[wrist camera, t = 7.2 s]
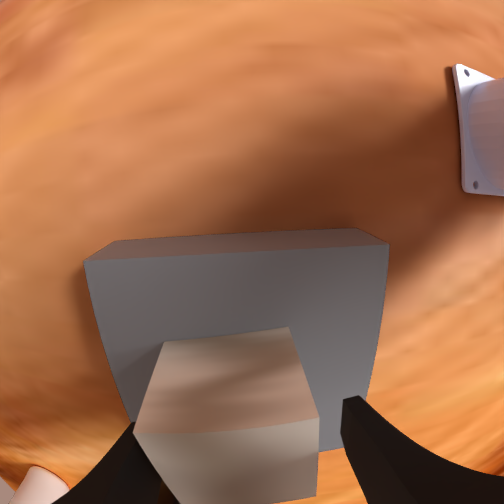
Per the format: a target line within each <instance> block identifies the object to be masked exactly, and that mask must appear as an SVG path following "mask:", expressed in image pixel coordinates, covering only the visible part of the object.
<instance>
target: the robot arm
mask: <svg viewBox="0 0 504 504" xmlns="http://www.w3.org/2000/svg"><path fill="white" fill-rule="evenodd" d="M452 71H453V76H454V83H455V89H456V96H457V104H458V113H459V124H460V137H461V160H462V188H463V190H464V191H465V192H467V193H475V194H486V195H497V196H504V78H499V79H494V78H491V77H489V76H487V75H485V74H483V73H480V72H478V71H476V70H473V69H471V68H469V67H466V66H464V65H461V64H455V65H453V67H452ZM464 72H465V73H464ZM465 74H466V75H465ZM473 183H474V187H473ZM135 424H136V422H132V423H131V424H130V425H129V426H128V428H127V429H126V430H125V431H124V433H123V434H122V435H121V436H120V438H119V439H118V440H117V441H116V443H115V444H114V445H113V446H112V448H111V449H110V450H109V451H108V452H107V454H106V455H105V456H104V457H103V458H102V460H101V461H100V462H99V463H98V464H97V465H96V466H95V467H94V468H93V469H92V470H91V471H90V472H89V474H88V475H87V476H86V477H85V478H83V479H82V480H81V481H80V482H79V483H78V484H77V485H76V486H75V487H73V488H72V489H71V490H70V491H68V492H67V493H66V494H64V495H63V496H61V497H60V498H59V499H57V500H56V501H54V502H53V503H51V504H157V502H158V497H159V492H160V487H161V481H162V478H161V476H160V475H159V473H158V472H157V471H156V469H155V468H154V466H153V465H152V463H151V461H150V460H149V458H148V457H147V455H146V454H145V452H144V450H143V449H142V447H141V446H140V444H139V442H138V441H137V439H136V437H135V436H134V434H133V430H134V427H135ZM340 435H341V438H342V442H343V445H344V448H345V452H346V455H347V457H348V460H349V462H350V464H351V466H352V469H353V471H354V473H355V475H356V477H357V480H358V482H359V484H360V486H361V489H362V491H363V493H364V495H365V497H366V500H367V503H368V504H504V477H503V476H496V475H491V474H486V473H482V472H479V471H475V470H472V469H469V468H466V467H463V466H461V465H458V464H455V463H453V462H450V461H448V460H446V459H444V458H442V457H440V456H438V455H436V454H434V453H432V452H430V451H429V450H427V449H425V448H424V447H422V446H420V445H419V444H417V443H416V442H414V441H413V440H411V439H410V438H409V437H407V436H406V435H404V434H403V433H402V432H400V431H399V430H398V429H397V428H395V427H394V426H393V425H392V424H390V423H389V422H388V421H387V420H386V419H384V418H383V417H382V416H381V415H380V414H379V413H378V412H377V411H375V410H374V409H373V408H372V407H371V406H370V405H369V404H368V403H367V402H366V401H365V400H364V399H363V398H362V397H361V396H359V395H357V396H353V397H350V398H346V399H343V404H342V417H341V428H340Z"/></svg>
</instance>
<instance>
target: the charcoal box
mask: <svg viewBox="0 0 504 504" xmlns="http://www.w3.org/2000/svg"><path fill="white" fill-rule="evenodd" d="M389 248H390V244H388V243H386V242H384V241H382V240H380V239H378V238H376V237H374V236H372V235H370V234H368V233H366V232H364V231H362V230H360V229H358V228H338V229H313V230H290V231H269V232H249V233H230V234H212V235H195V236H179V237H164V238H149V239H135V240H121V241H114V242H112V243H111V244H109V245H107V246H106V247H104V248H103V249H101V250H99V251H98V252H96V253H95V254H93V255H92V256H90V257H89V258H87V259H85V260H84V261H83V263H84V268H85V274H86V279H87V284H88V288H89V293H90V297H91V302H92V306H93V310H94V314H95V318H96V322H97V326H98V329H99V333H100V336H101V340H102V343H103V347H104V350H105V353H106V356H107V360H108V363H109V366H110V369H111V372H112V375H113V378H114V380H115V383H116V386H117V389H118V392H119V394H120V397H121V399H122V402H123V405H124V407H125V410H126V412H127V415H128V417H129V419H130V422H131V423H132V422H136V421H137V418H138V415H139V412H140V409H141V406H142V403H143V400H144V397H145V394H146V391H147V388H148V385H149V383H150V380H151V377H152V374H153V371H154V368H155V366H156V363H157V360H158V357H159V355H160V352H161V349H162V346H163V344H164V342H166V341H178V340H188V339H198V338H208V337H217V336H225V335H233V334H241V333H248V332H256V331H262V330H269V329H276V328H282V327H289V330H290V333H291V335H292V338H293V341H294V344H295V347H296V350H297V353H298V356H299V359H300V362H301V365H302V367H303V370H304V373H305V376H306V379H307V382H308V385H309V388H310V391H311V394H312V397H313V400H314V403H315V406H316V409H317V412H318V414H319V451H318V452H323V451H329V450H334V449H339V448H344V445H343V442H342V438H341V435H340V428H341V417H342V404H343V399H346V398H350V397H353V396H357V395H359V396H361V397H362V398H363V399H364V400H366V396H367V392H368V388H369V384H370V379H371V375H372V370H373V365H374V360H375V355H376V350H377V344H378V339H379V333H380V326H381V320H382V313H383V306H384V299H385V290H386V282H387V272H388V261H389Z"/></svg>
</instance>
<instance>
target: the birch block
mask: <svg viewBox="0 0 504 504" xmlns="http://www.w3.org/2000/svg"><path fill="white" fill-rule="evenodd" d="M133 434H134V436H135V437H136V439H137V441H138V442H139V444H140V446H141V447H142V449H143V450H144V452H145V454H146V455H147V457H148V458H149V460H150V461H151V463H152V465H153V466H154V468H155V469H156V471H157V472H158V473H159V475H160V476H161V478H162V479H163V481H164V482H165V484H166V485H167V486H168V488H169V489H170V490H171V492H172V493H173V494H174V496H175V497H176V498H177V500H178V501H179V502H180V504H272V503H280V502H286V501H293V500H299V499H304V498H309V497H314V496H316V489H317V473H318V451H319V414H318V412H317V409H316V406H315V403H314V400H313V397H312V394H311V391H310V388H309V385H308V382H307V379H306V376H305V373H304V370H303V367H302V365H301V362H300V359H299V356H298V353H297V350H296V347H295V344H294V341H293V338H292V335H291V333H290V330H289V327H282V328H276V329H269V330H262V331H256V332H248V333H241V334H233V335H225V336H217V337H208V338H198V339H188V340H178V341H166V342H164V344H163V346H162V349H161V352H160V355H159V357H158V360H157V363H156V366H155V368H154V371H153V374H152V377H151V380H150V383H149V385H148V388H147V391H146V394H145V397H144V400H143V403H142V406H141V409H140V412H139V415H138V418H137V421H136V424H135V427H134V430H133Z"/></svg>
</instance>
